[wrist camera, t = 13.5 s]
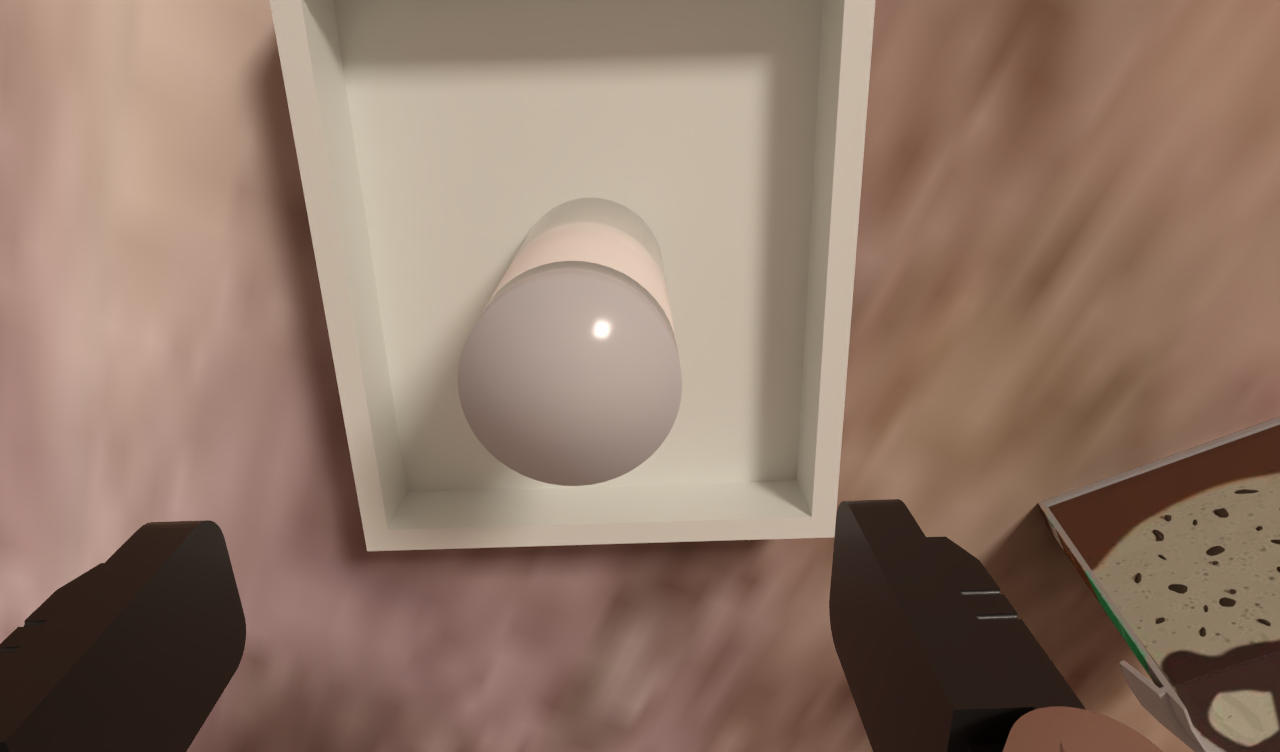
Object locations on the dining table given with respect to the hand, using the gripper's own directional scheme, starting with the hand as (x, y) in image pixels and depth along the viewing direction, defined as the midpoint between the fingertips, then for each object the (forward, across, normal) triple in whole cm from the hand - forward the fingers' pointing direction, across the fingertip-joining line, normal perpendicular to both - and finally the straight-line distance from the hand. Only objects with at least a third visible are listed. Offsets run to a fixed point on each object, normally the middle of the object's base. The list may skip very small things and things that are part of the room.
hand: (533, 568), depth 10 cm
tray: (+17, 0, 0) cm, 17 cm away
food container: (+17, -22, +11) cm, 30 cm away
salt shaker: (+16, 0, 0) cm, 16 cm away
